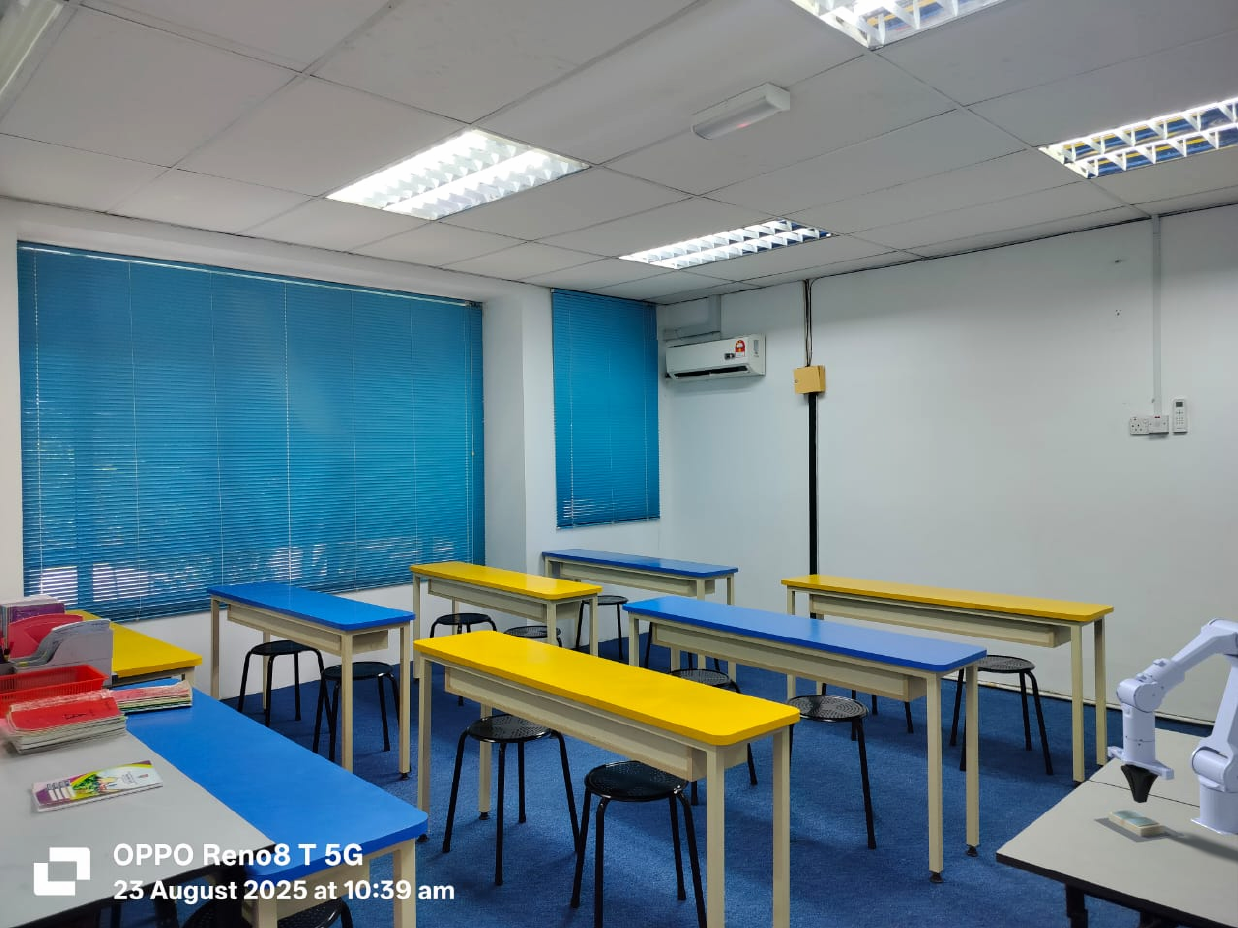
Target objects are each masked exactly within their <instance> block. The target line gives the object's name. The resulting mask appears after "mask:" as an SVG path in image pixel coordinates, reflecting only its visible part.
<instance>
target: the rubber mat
mask: <svg viewBox="0 0 1238 928" xmlns="http://www.w3.org/2000/svg"><path fill="white" fill-rule="evenodd" d="M1093 821H1094V822H1097V823H1098V824H1101V825H1103V826H1105V827H1106V828H1108V829H1110V830H1112V831H1114V832H1116V833H1118V834H1120V835H1122V836H1124V837H1126V838H1127V839H1129V840H1131V841H1133V842H1135V843H1142V842H1149V841H1155V840H1162V839H1170V838H1176V837H1183V836H1185V835H1184V834H1183V833H1181V832H1178V831H1176V830H1174V829H1172V828H1170V827H1168V826H1165V825H1164V833H1160V834H1153V835H1146V836H1139V835H1137V834H1135V833H1133V832H1131V831H1129V830H1127V829H1125V828H1123V827H1121V826H1119V825H1117V824H1116V823H1114V822H1112V821H1110V820H1109V816H1108V817H1104V818H1102V817H1101V818H1096V819H1095V818H1094V819H1093Z"/></svg>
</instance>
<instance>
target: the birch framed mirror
mask: <svg viewBox="0 0 1238 928" xmlns="http://www.w3.org/2000/svg"><path fill="white" fill-rule="evenodd" d="M1108 817H1109V820H1110V821H1112V822H1114V823H1116V824H1117V825H1119V826H1121V827H1123V828H1125V829H1127V830H1129V831H1131V832H1133V833H1135V834H1137V835H1139V836H1146V835H1153V834H1160V833H1164V826H1165V825H1164V824H1162V823H1160V822H1158V821H1156V820H1154V819H1152V818H1150V817H1148V816H1146V815H1144V814H1141V813H1140V812H1138V811H1135V810H1133V809H1127V810H1125V809H1124V810H1119V811H1112V812H1111V811H1110V812H1108Z"/></svg>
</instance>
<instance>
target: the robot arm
mask: <svg viewBox="0 0 1238 928" xmlns="http://www.w3.org/2000/svg"><path fill="white" fill-rule="evenodd" d="M1215 654H1220V655H1222V656H1224V658H1226V660H1227V662H1228V663H1229V664H1230V666H1231V667H1230V668H1231V669H1230V672H1229V675H1228V678H1227V681H1226V686H1225V688H1224V691H1223V696H1222V699H1221V702H1220V705H1219V709H1218V712H1217V715H1216V719H1215V721H1214V725H1213V729H1212V732H1211V735H1209V736H1207V737H1204V738H1202V739H1200V740H1199V742H1198V746H1197V747H1196V749H1195V750H1194V751H1193V752H1192V754H1191V755H1190V758H1189V765H1190V768H1191V770H1192V771H1193V772H1194V773H1195V774H1196V779H1197V780H1198V783H1199V784H1198V785H1199V816H1198V817H1193V818H1189V820H1190V821H1192V822H1194V823H1196V824H1199V825H1201V826H1203V827H1206V828H1207V829H1209V830H1212V831H1214V832H1216V833H1219V834H1221V835H1223V836H1224V835H1225V836H1228V835H1234V834H1238V622H1235V621H1231V620H1227V619H1225V618H1220V617H1219V618H1213V619H1210V620H1209V622H1208V623H1206V624H1205V625H1203V626H1201V628H1200V633H1199V634H1198V635H1197V636H1196V637H1195V638H1194V639H1192V640H1191V641H1190V642H1189V643H1188V644H1187V645H1185V646H1184V647H1183V648H1182V649H1180V651H1178V653H1176V654H1175V655H1174V656H1173V657H1171V658H1170V659H1169V658H1165V657H1164V658H1163V657H1161V658H1159V659H1158V658H1156V659H1155V660H1153V662H1152V663H1153V664H1151V665H1150V666H1149V667H1148V668H1146V669H1145V670H1143V671H1142V672H1141V673H1137V674H1136V675H1135V677H1134V678H1132V677H1131V678H1126V679H1124V680H1122V681H1121V682H1120V683H1119V684H1118V686H1117V690H1115V693H1114V694H1115V697H1116V698H1117V700H1118V701H1119V703H1120V708H1121V711H1122V734H1123V735H1122V740H1123V742H1122V743H1123V745H1122V746H1123V748H1121V747H1118V746H1115V745H1113V746H1107V756H1108V757H1110V758H1115V759H1118V760H1120V762H1121V763H1124V765H1120V770H1121V772H1122V773H1123V775H1124V777H1125V779H1126V781H1127V783H1128V786H1129V789H1130V792H1131V796H1132V798H1133V801H1134V802H1135V803H1138V804H1143V803H1147V802H1148V798H1149V795H1150V792H1151V789H1152V786H1153V784H1154V782H1155V781H1156V780H1157V778H1158V777H1161V778H1162V780H1165V781H1171V780H1175V769H1173V768H1170V767H1169V766H1167V765H1166V764H1164V763H1162V762H1160V761H1159V760H1158V759H1157V757H1156V724H1155V723H1156V721H1155V720H1156V717H1155V715H1156V714H1155V713H1156V712H1155V711H1156V710H1158V709H1159V708H1160V706H1161V705H1162V701H1163V699H1164V698H1165V697H1166V694H1168V693H1169V692H1171V691H1172V690H1173V689H1175V688H1176V687H1178V686H1179V685H1180V684H1181V683H1183V682H1184V681H1185V679H1186V672H1187V671H1189V670H1191V669H1192V668H1194V667H1196V666H1197V665H1199V664H1201V663H1202V662H1204V661H1206V660H1207V659H1208V658H1210V657H1212V656H1214V655H1215Z"/></svg>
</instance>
